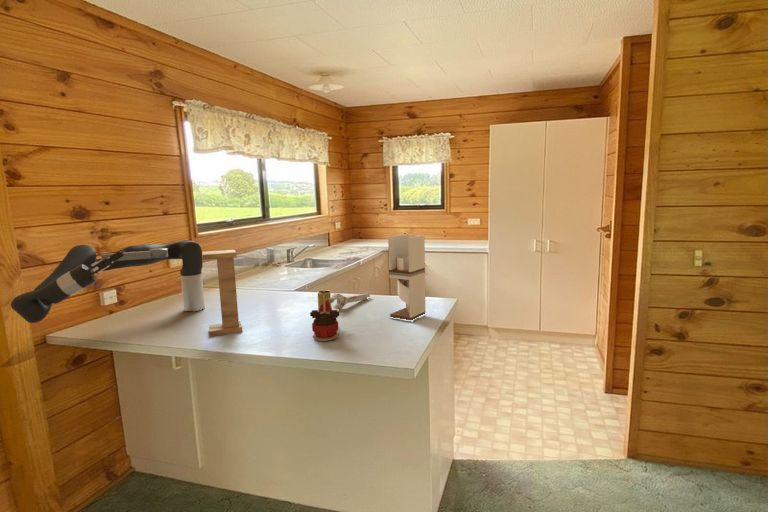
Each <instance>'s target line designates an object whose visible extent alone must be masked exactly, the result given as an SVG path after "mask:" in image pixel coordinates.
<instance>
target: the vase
mask: <svg viewBox="0 0 768 512" xmlns="http://www.w3.org/2000/svg"><path fill="white" fill-rule="evenodd" d="M323 291H325V300H327V299H330V298H332V296H331V290H327V289H325V290H324V289H323V290H319V291H317V310H318V311H319V308H320V306H321V304H322V303H323ZM330 306H331V308H332V303H330ZM332 309H333V308H332Z"/></svg>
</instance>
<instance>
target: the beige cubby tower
mask: <svg viewBox="0 0 768 512" xmlns="http://www.w3.org/2000/svg"><path fill="white" fill-rule="evenodd" d="M387 239H388V240H387V243H388V274H389V275H388V278H389V279H396V281H397V296H398V298H399V299H400V301H402V302H403V303H405V307H404V308H401V309H398V310H397V311H395V312H392V313H390V314H389V316H390V317H393V318H400V319H406V320H413V319H415V318H417V317H419V316H421V315H423V314H425V313H426V259H425V258H426V256H425V255H426V253H425V251H426V250H425V248H426V247H425V246H426V245H425V242H426V241H425V234H424V235H423V234H405V233H404V234H397V235H393V236H388V238H387ZM390 317H389V318H390Z"/></svg>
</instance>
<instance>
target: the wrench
mask: <svg viewBox="0 0 768 512" xmlns="http://www.w3.org/2000/svg"><path fill="white" fill-rule="evenodd" d="M367 297H370V298H371V295H370V293H362V294H361V293H360V294H356V295H351V296H344V295H342V294H341V293H333V295H332V296H331V298H334V302H335V301H336V303H335V304H334V305H333V309H334V310H339V309H342V310H343V308H344V307H345V306H346V305H347V304H349V303H356V302H362V301H366V300H365V299H367Z"/></svg>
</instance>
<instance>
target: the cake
mask: <svg viewBox="0 0 768 512" xmlns="http://www.w3.org/2000/svg"><path fill="white" fill-rule="evenodd" d="M334 302H335V301H334V298H332V297H331V298H330V299H327V300H325V291H323V303H322V304H321V306H320V308H319V311H318V309H315V310H314V309H312V311H310V313H309V315H310V317H311V318H312V319H313V322H312V323H311V328H312V332H313V335H312V338H313V339H314V340H316V341H320V342H325V341H327V340H328V341H332V340H335V339H336V338H339V335H340V333H338V330H339V329H340V328H339V321H338V320H337V319H338V318H339V316H340V311H338V309H333V308H331V306H332V305H331V306H330V303H331V304H333V303H334ZM328 341H327V342H328Z"/></svg>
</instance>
